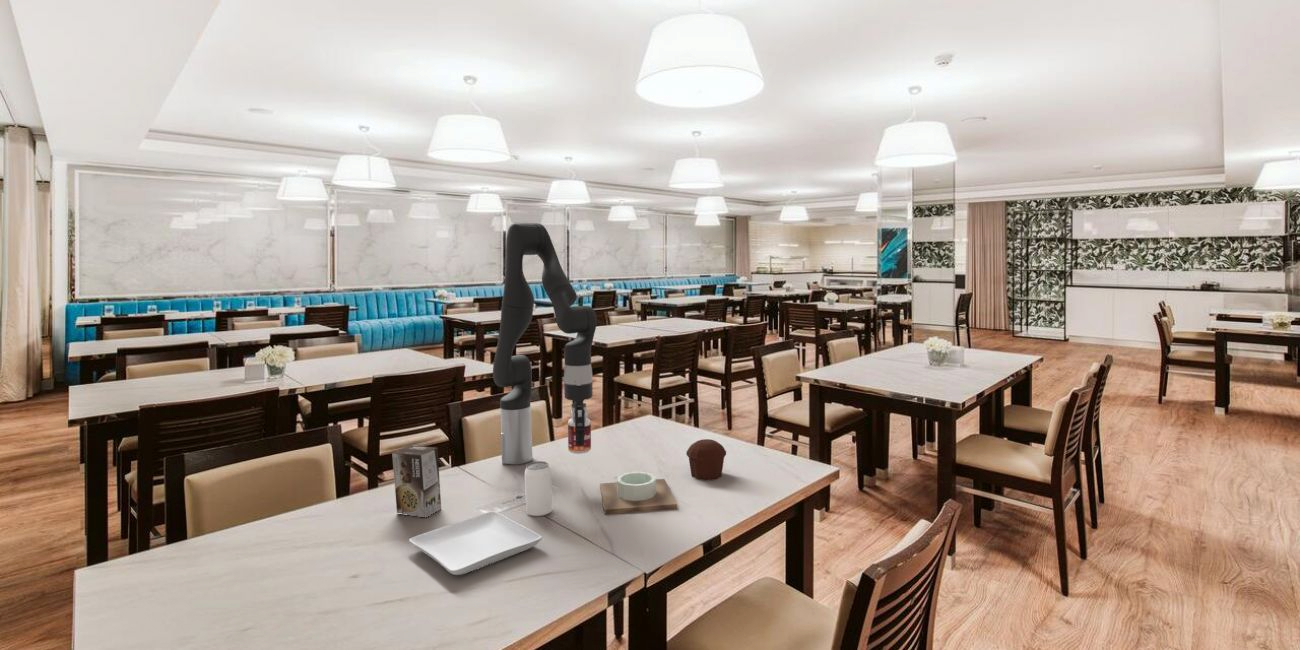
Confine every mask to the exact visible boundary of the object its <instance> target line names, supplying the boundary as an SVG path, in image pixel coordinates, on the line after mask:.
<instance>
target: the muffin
mask: <svg viewBox="0 0 1300 650" xmlns="http://www.w3.org/2000/svg"><path fill="white" fill-rule="evenodd" d="M685 454H686V457H688V463H689V469H690V474H691V477H692V478H695V479H697V480H701V481H711V480H712V481H713V480H717V479H719V478H721V477H722V475H723V468H724V460H725V456H726V455H727V451H726V449H725V448H724V446H723V445H722V444H721V443H719V442H718V441H716V440H714V439H699V440H696V441H695V442H693V443H692V444H691V445H689V447H688V449H687V450H686V453H685Z"/></svg>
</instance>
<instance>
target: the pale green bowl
mask: <svg viewBox="0 0 1300 650" xmlns="http://www.w3.org/2000/svg"><path fill="white" fill-rule="evenodd" d="M616 482H617V494H618V497H620V498H622V499H624V500H630V501H641V500H647V499H650V498H653V497H654V496H655V495H656V476H655V475H654V474H652V473H650V472H644V471H629V472H625V473H622V474H620V475H619V476H618V477H616Z"/></svg>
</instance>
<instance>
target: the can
mask: <svg viewBox="0 0 1300 650" xmlns="http://www.w3.org/2000/svg"><path fill="white" fill-rule="evenodd" d="M525 467H526V468H525V470H524V489H525V491H524V492H525V493H524V494H525V509H526V510H525V511H526V513H527V515H528V516H530V517H543V516H547V515H549V514H551V512H552V511H553V486H552V469H551V467H550V464H549V462H547V461H532V462H528V463H526V465H525Z"/></svg>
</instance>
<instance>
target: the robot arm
mask: <svg viewBox="0 0 1300 650" xmlns="http://www.w3.org/2000/svg"><path fill="white" fill-rule="evenodd" d="M505 239H506V240H505V272H504V274H505V275H504V285H503V286H504V287H503V294H502V301H501V308H500V309H501V310H500V323H499V324H500V325H499V333H498V339H497V346H496V351H495V354H494V359H493V364H492V365H493V367H492V378H493V381H494V384H495V385H496V386H497V387H500V388H508V387H513V388H512V390H510V392H509V393H507V394H505V395H504V396H502V397H501V398H500V399H499V400H500V401H499V406H500V407H499V409H500V426H501V427H500V429H501V430H500V431H501V433H500V449H501V452H500V453H501V464H503V465H507V464H508V465H522V464H528V463H530V462H531V461H532V460H533V439H532V437H533V435H532V414H531V413H532V412H531V399H532V381H533V380H532V378H533V377H532V373H533V372H532V365H531V362H530V359H529V357H528V356H526V355H524V354H517V355H513V353H514V352H513V351H514V349H515V347H516V345H517V342H518V341H519V340H520V338H521V337H522V336H523V335H524V333H525V332H526V330H527V329H528V328H529V325H530V324H531V322H532V319H533V314H534V308H535V307H534V306H535V305H534V304H535V298H534V297H535V296H534V294H533V290H532V289H531V286H530V284H529V283H528V281H527V279H526V277H525V274H524V270H523V265H524V264H523V259H524V256H535V255H537V256H538V257H539V258H540V260H541V262H542V263H543V269H542V274H541V275H542V276H541V282H542V287H543V290H544V291H545V293H546V295H547V297H548V299H549V300H550V302H551V304H552V308H553V312H554V316H555V323H556V326H557V328H558V329H559V330H560V331H561V332H563V333H564V334H567V335H568V334H576V337H575V339H573V340H571V341H569V342H567V343H565V345H564V370H563V381H564V382H563V386H564V387H563V388H564V398H565V400H568V401H573V403H571V404H570V405H571V411H572V413H573V423H574V424H575V432H576V445H577V446H579V445H584V431H585V422H586V411H588V410H587V403H586V402H584V401H585V400H590V399H592V398H593V396H594V395H593V393H594V392H593V390H594V388H593V368H592V345H593V341H594V338H595V333H596V329H597V324H598V322H597V321H598V317H597V315H596V314H597V313H596V312H595V310H594V308H592V306H589V305H579V306H577V305H575V306H573V305H574V304H575V303H576V302H577V298H578V297H577V296H578V295H577V292H576V290H575V288H574V286H573V285H572V284H571V281H570V280H569V278H568V277H567V275H566V274H565V271H564V269H563V268H562V265H561V263H560V260H559V257H558V255H557V252H556V249H555V246H554V244H553V241H552V239H551V236H550V234H549V232H548V230H547V229H546V227H545V226H544V225H543V224H541V223H538V222H512V223H511V224H510V225H509V227H508V229H507V233H506V238H505ZM578 423H582V427H577V424H578Z"/></svg>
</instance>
